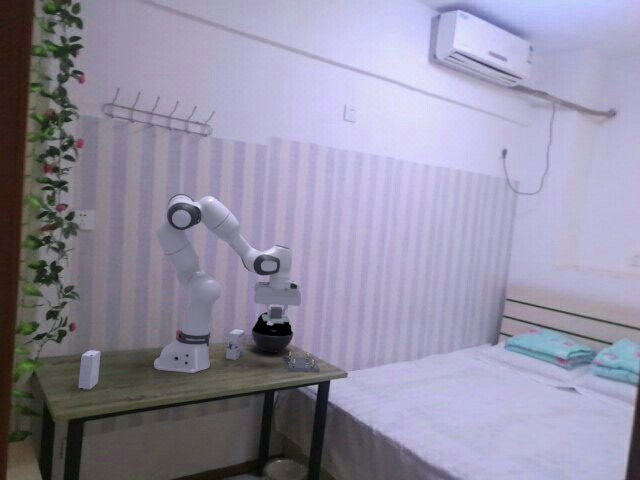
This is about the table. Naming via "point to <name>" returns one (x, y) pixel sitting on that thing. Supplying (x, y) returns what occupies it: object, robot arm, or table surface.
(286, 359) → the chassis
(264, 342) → the coal bowl
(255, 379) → the table surface
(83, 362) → the skincare box
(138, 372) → the table surface
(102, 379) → the table surface
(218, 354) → the table surface
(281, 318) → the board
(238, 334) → the ink box
